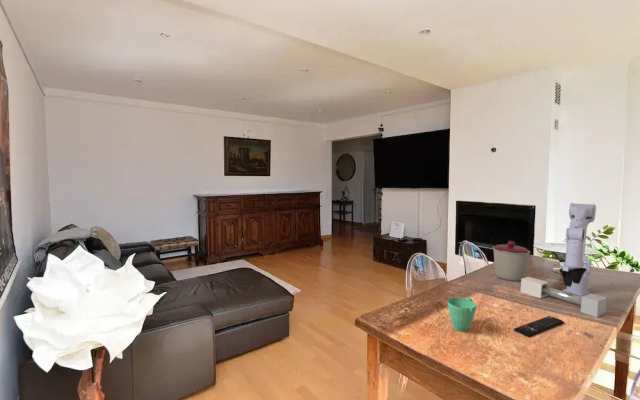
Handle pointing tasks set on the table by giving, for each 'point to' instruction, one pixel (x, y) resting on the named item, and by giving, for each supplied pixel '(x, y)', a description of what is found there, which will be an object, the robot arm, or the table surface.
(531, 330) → the remote control
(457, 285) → the table surface
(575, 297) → the tube
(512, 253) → the canister
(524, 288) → the sleeve
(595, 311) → the socket
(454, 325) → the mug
